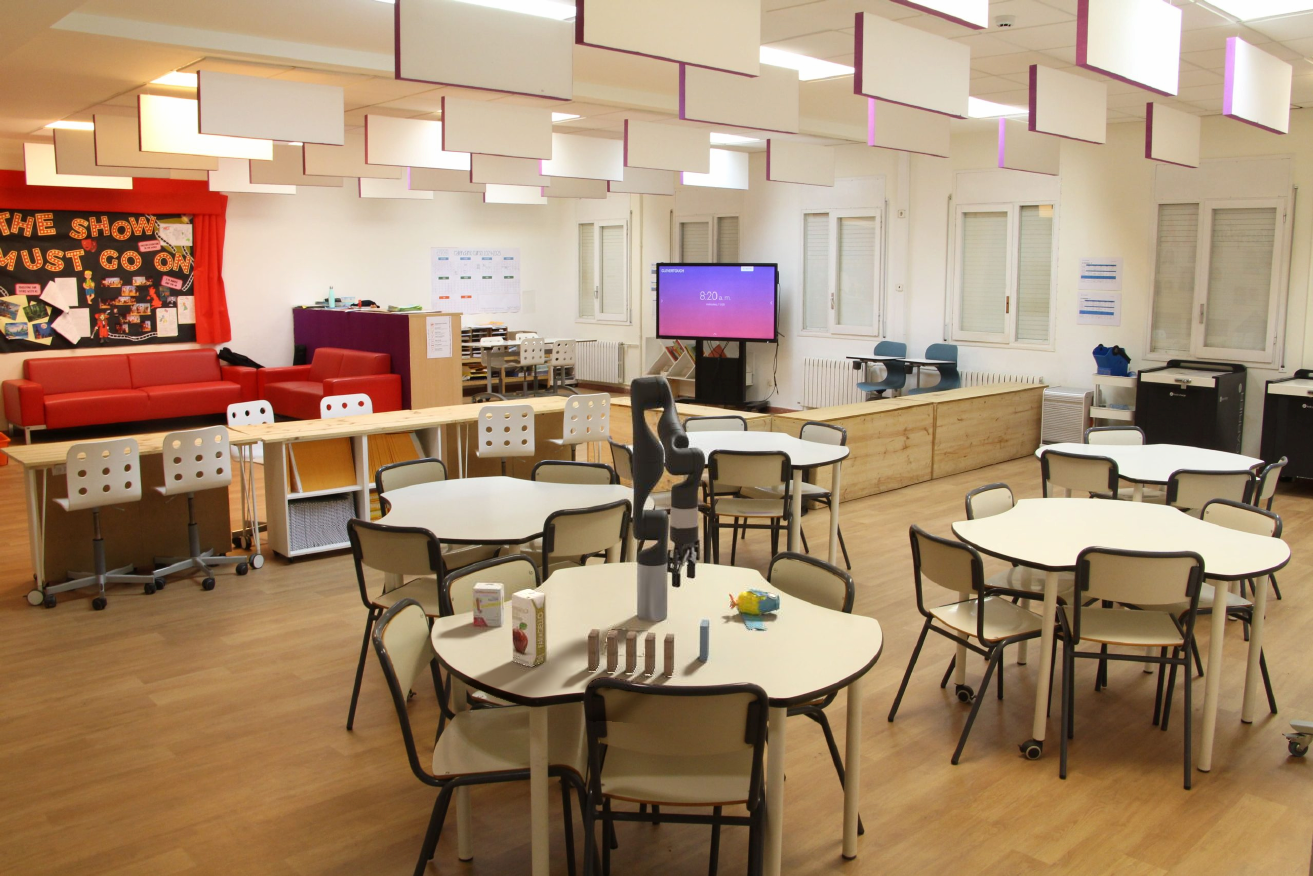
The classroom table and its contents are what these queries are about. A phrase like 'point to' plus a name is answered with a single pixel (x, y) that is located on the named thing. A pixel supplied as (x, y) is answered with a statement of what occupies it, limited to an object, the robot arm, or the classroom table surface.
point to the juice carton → (529, 627)
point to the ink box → (488, 604)
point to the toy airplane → (755, 606)
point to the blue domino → (704, 640)
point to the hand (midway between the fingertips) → (683, 582)
